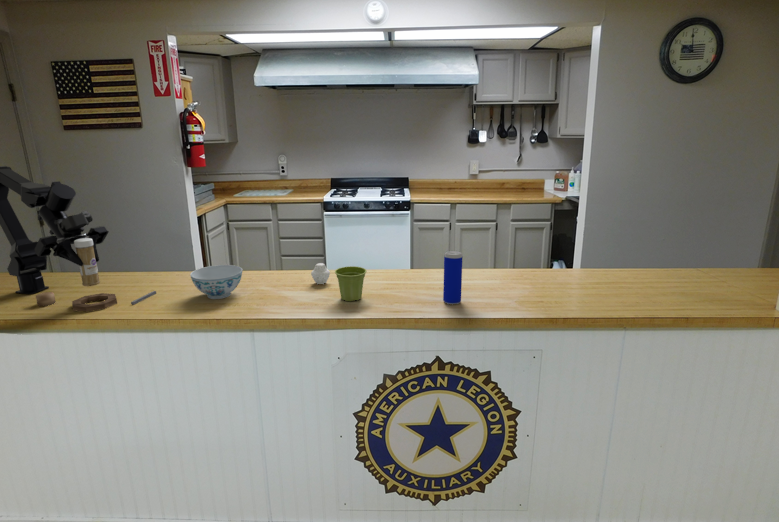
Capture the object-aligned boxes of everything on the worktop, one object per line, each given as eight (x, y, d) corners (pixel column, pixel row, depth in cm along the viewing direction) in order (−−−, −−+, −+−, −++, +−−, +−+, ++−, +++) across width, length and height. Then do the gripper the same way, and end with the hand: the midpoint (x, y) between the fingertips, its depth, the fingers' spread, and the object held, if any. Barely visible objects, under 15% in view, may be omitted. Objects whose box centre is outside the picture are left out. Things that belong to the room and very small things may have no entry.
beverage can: (462, 300, 141) (464, 251, 137) (459, 306, 137) (460, 255, 133) (445, 298, 143) (446, 249, 139) (441, 304, 138) (442, 254, 134)
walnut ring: (63, 310, 137) (62, 305, 136) (94, 297, 147) (93, 292, 147) (96, 312, 134) (95, 307, 134) (125, 299, 145) (124, 294, 144)
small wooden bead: (34, 307, 139) (32, 297, 139) (42, 301, 144) (40, 292, 143) (51, 306, 140) (49, 296, 139) (58, 301, 144) (56, 291, 143)
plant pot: (372, 295, 146) (371, 268, 144) (357, 305, 138) (356, 277, 136) (345, 291, 150) (344, 264, 148) (330, 301, 142) (328, 273, 139)
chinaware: (210, 286, 156) (208, 263, 154) (253, 289, 153) (251, 265, 151) (182, 302, 142) (179, 277, 140) (228, 305, 139) (226, 280, 137)
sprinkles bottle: (96, 286, 137) (87, 241, 134) (79, 287, 137) (70, 241, 133) (103, 281, 142) (95, 237, 138) (87, 282, 141) (78, 237, 137)
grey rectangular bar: (133, 304, 140) (133, 302, 140) (131, 304, 140) (130, 301, 140) (156, 293, 150) (156, 291, 150) (154, 293, 150) (153, 290, 150)
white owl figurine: (329, 286, 155) (328, 265, 153) (310, 286, 155) (309, 265, 153) (331, 280, 161) (330, 260, 159) (313, 280, 161) (312, 260, 159)
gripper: (32, 208, 126) (66, 253, 125) (99, 199, 142) (130, 238, 141) (20, 235, 132) (53, 278, 130) (86, 222, 148) (116, 261, 146)
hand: (90, 263), depth 137 cm, fingers closed on sprinkles bottle, 4 cm apart
